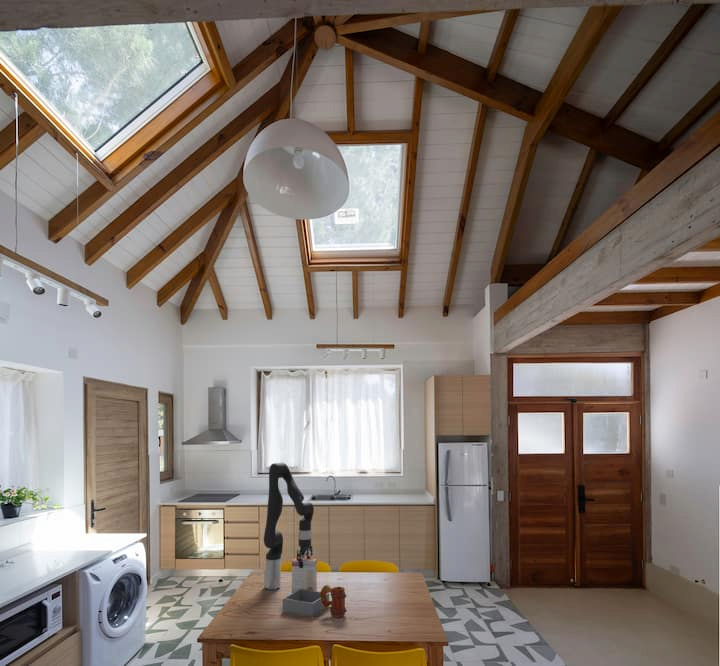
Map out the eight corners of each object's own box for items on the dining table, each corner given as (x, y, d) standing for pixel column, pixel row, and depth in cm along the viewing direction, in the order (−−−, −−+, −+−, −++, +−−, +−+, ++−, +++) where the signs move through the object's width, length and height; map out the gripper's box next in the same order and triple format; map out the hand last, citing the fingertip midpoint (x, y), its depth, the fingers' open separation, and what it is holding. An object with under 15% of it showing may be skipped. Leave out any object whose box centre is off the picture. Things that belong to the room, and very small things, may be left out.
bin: (282, 612, 303) (282, 598, 304) (300, 601, 319) (300, 588, 320) (312, 617, 295) (312, 603, 296) (329, 606, 311) (329, 593, 312)
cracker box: (316, 595, 330) (317, 558, 333) (315, 598, 325) (315, 560, 327) (293, 594, 332) (294, 557, 335) (291, 597, 326) (291, 560, 329)
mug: (349, 614, 299) (349, 585, 301) (343, 620, 291) (343, 589, 294) (323, 611, 304) (324, 582, 306) (317, 616, 296) (318, 586, 298)
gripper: (305, 534, 341) (305, 562, 338) (293, 539, 328) (292, 568, 326) (316, 535, 338) (316, 563, 335) (304, 540, 325) (303, 570, 323)
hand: (304, 566), depth 331 cm, fingers open, 8 cm apart
